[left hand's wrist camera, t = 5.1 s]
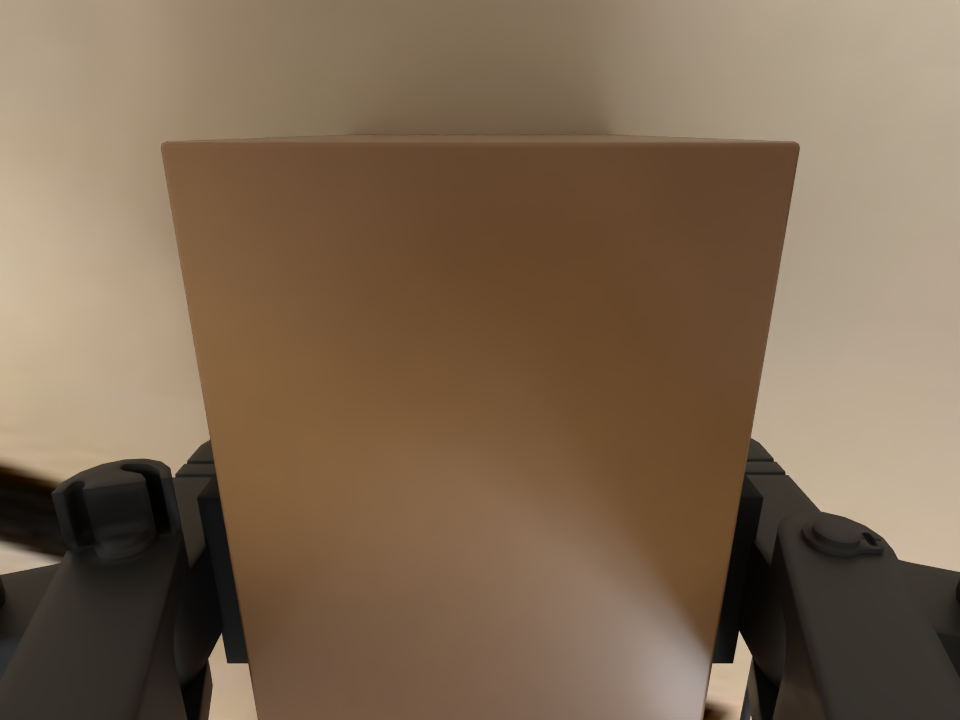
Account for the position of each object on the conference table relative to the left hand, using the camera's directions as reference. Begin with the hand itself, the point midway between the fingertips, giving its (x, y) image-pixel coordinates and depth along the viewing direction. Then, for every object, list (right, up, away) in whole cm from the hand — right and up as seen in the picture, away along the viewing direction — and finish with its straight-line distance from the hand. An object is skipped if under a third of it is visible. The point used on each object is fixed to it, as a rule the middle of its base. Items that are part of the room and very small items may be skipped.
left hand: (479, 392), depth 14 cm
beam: (0, -30, +12) cm, 32 cm away
